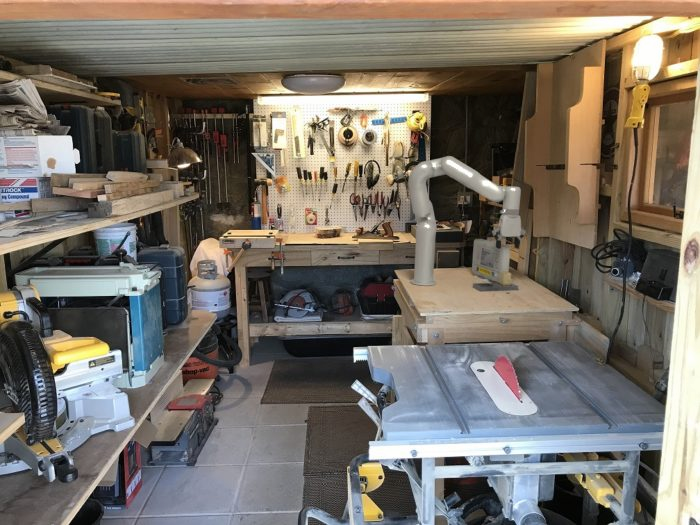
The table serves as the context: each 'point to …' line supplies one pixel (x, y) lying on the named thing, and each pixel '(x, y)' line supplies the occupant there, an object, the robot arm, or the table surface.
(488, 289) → the grey flat plate
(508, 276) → the brass block
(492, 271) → the network device
